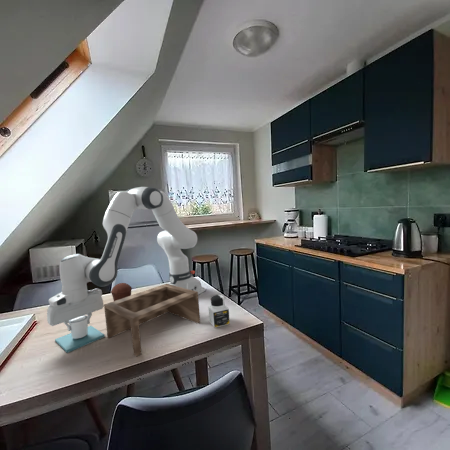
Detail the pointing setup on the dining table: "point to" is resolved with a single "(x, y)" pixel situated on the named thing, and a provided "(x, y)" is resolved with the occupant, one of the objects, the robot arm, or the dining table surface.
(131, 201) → the robot arm
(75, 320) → the shot glass
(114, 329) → the box
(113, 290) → the muffin
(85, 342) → the mat
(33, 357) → the dining table surface
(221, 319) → the medicine bottle
